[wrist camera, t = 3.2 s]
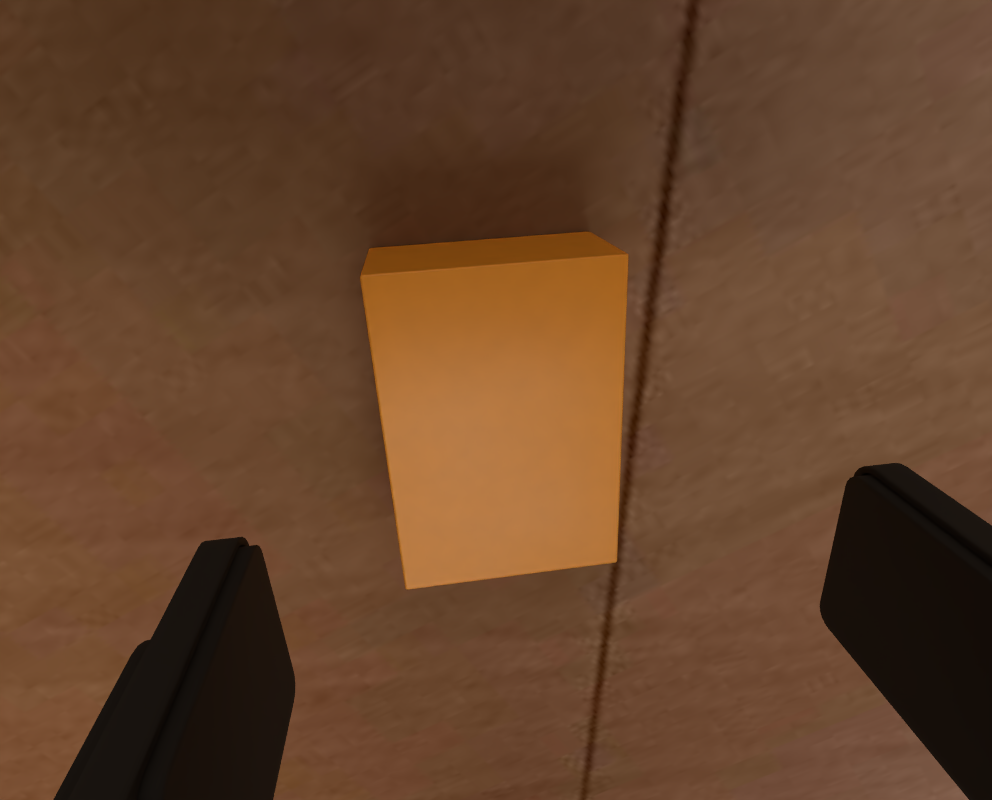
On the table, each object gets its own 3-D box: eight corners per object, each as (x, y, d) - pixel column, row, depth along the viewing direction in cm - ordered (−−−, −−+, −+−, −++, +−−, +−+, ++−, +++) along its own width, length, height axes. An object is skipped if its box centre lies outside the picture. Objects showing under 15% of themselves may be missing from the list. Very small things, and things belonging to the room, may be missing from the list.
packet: (368, 247, 15) (359, 275, 12) (590, 230, 15) (629, 253, 13) (405, 520, 18) (405, 590, 15) (587, 499, 19) (617, 562, 16)
